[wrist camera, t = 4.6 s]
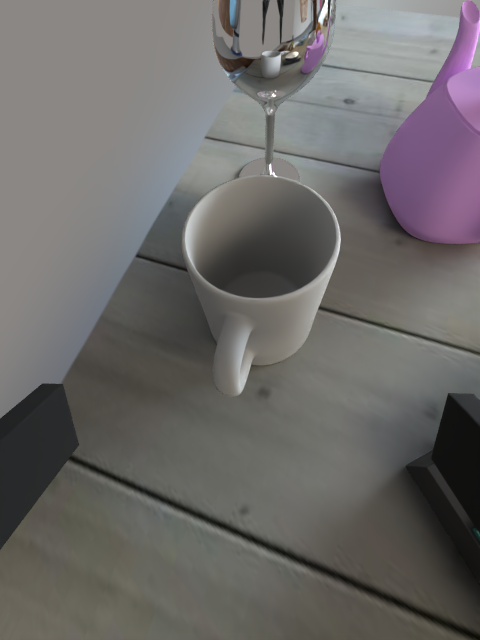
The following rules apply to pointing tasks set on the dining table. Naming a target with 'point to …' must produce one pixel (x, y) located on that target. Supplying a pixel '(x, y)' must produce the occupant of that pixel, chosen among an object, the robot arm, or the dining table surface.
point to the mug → (259, 269)
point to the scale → (448, 510)
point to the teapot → (441, 150)
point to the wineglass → (272, 57)
